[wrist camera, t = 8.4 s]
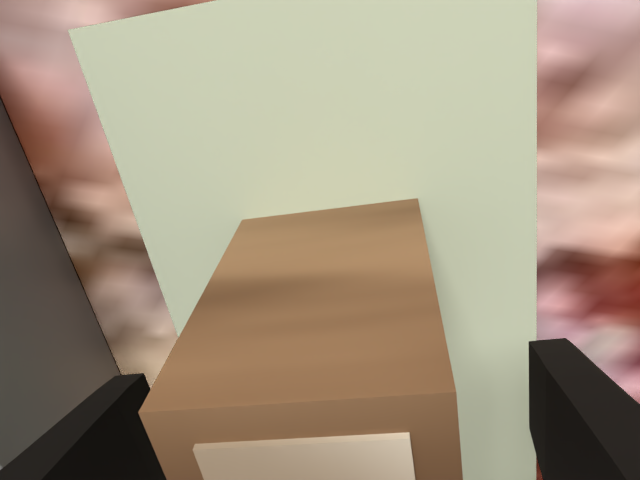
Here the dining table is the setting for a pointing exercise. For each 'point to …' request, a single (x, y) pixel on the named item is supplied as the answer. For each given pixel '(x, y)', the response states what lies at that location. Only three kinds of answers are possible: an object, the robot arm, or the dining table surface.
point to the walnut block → (313, 357)
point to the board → (345, 157)
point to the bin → (39, 313)
